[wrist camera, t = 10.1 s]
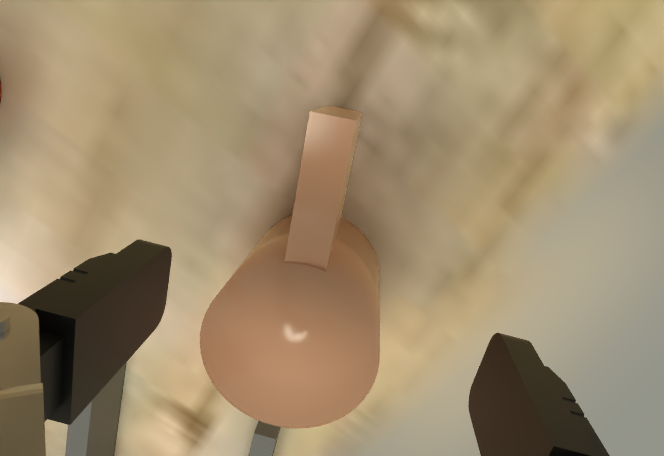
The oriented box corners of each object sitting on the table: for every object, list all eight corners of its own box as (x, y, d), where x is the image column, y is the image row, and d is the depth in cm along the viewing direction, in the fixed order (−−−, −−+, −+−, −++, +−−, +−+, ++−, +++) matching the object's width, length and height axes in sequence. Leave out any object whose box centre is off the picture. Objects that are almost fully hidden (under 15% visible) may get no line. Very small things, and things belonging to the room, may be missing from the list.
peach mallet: (278, 94, 23) (227, 95, 15) (417, 121, 22) (437, 138, 15) (246, 315, 26) (191, 406, 19) (364, 341, 26) (358, 444, 18)
